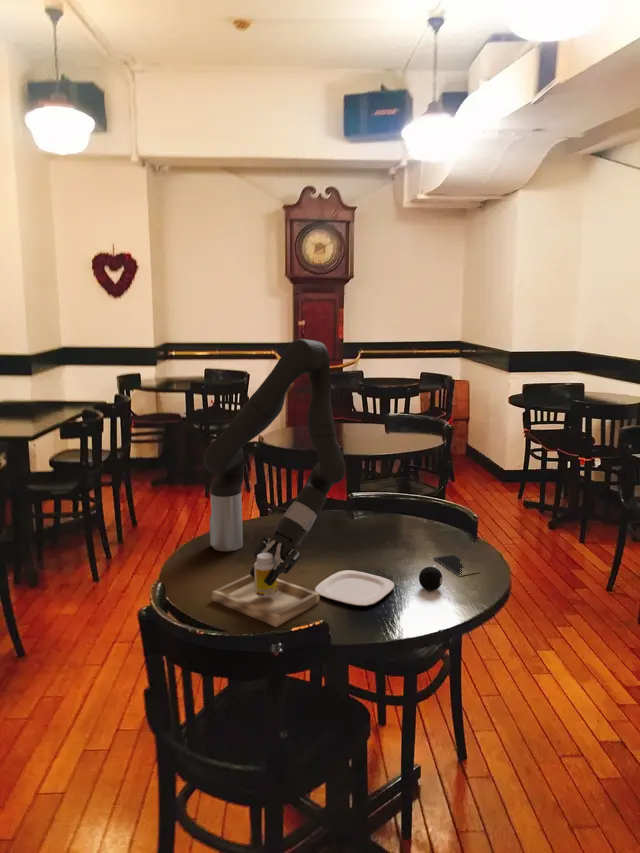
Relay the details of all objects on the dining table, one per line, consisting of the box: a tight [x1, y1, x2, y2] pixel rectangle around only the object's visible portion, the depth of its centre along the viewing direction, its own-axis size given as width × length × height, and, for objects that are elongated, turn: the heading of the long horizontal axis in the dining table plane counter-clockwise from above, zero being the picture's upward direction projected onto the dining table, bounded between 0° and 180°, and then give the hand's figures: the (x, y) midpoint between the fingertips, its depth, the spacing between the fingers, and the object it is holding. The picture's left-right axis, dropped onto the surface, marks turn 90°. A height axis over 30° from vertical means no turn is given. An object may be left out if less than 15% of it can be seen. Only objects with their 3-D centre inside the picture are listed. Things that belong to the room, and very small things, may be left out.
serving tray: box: [211, 573, 320, 628], centre depth 170 cm, size 22×16×2 cm
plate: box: [314, 569, 395, 607], centre depth 176 cm, size 18×18×2 cm
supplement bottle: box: [253, 552, 278, 598], centre depth 169 cm, size 6×6×10 cm
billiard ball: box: [418, 566, 443, 591], centre depth 177 cm, size 6×6×6 cm
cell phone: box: [433, 553, 464, 576], centre depth 192 cm, size 7×14×1 cm, turn 22°
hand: (259, 579), depth 168 cm, fingers closed on supplement bottle, 5 cm apart
